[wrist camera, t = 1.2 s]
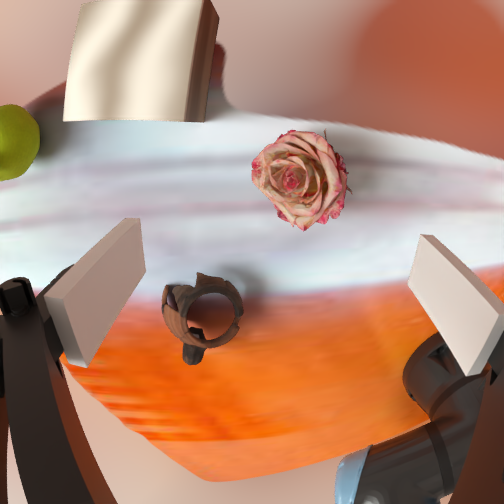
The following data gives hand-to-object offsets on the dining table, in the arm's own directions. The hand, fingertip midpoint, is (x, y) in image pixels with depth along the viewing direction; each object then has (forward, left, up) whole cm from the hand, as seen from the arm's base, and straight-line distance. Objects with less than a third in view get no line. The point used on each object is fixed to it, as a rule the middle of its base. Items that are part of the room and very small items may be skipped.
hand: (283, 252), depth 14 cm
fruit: (+32, -3, -20) cm, 38 cm away
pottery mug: (+7, +17, -20) cm, 27 cm away
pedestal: (+14, -11, -20) cm, 27 cm away
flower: (-2, -1, -20) cm, 20 cm away
